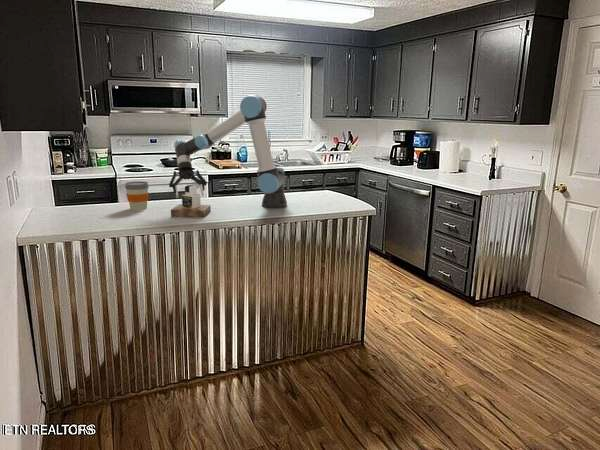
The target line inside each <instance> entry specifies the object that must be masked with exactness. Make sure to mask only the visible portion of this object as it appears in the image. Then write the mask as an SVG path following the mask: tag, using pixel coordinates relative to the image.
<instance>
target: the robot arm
mask: <svg viewBox="0 0 600 450" xmlns="http://www.w3.org/2000/svg"><path fill="white" fill-rule="evenodd" d="M267 106H268V105H267V102H266V100H265V99H264V98H263V97H262V96H259V95H255V94H250V95H247V96H245V97H243V98H242V100H241V101H240V105H239V109H240V110H239V111H238V112H236V113H234V114H233V115H231V116H230V117H228V118H227V119H226V120H223V122H221V123H220V124H218V125H217V126H215V127H214V128H213V129H210V130H209V131H208V132H206V133H205V134H199V135H196V136H195V137H194V138H192V139H189V140H188V141H185V140H177V141H176V142H175V143H174V151H175V156H176V163H177V167H178V168H177V169H178V171H176V170H174V171H173V175H172V177H171V180H170V181H169V185H168V187H169V188H172V192H173V193H175V197H176V199H179V190H178V185H179V184H180V182H182V181H183V180H191V181H193V182H195V183H197V185H199V188H200V195H201V197H202V198H203V197H204V195H205V193H204V191H205V189H206V188H205V186H207V183H208V182H207V180H206V179H205V178H204V177H203V175H201V174H200V171H199V170H195V171H194V169H193V165H192V160H191V155H193V154H195V153H197V152H199V151H202V150H208V149H210V148H211V147H212V146H213V145H215V144H216V143H217V142H219V141H221V140H222V139H224V138H225V137H227V136H229V134H231V133H233V132H235V131H236V130H237V129H239V128H241V127H242V126H244V125H245V124H246V125H248V127H249V131H250V136H251V141H252V145H253V148H254V153H255V157H256V162H257V166H258V168H257V171H256V174H257V178H258V179H257V186H258V188H259V190H260V191H261V192H262V193H264V194H263V198H262V201H261V206H262V207H264V208H271V209H279V208H285V207H287V206H288V202H287V197H286V195H285V170H284V168H283V167H278V166H276V165H275V164H274V161H273V156H272V152H271V147H270V143H269V142H270V141H269V138H268V132H267V129H266V125H265V121H266V119H267V116H266V112H267ZM177 176H179V177H178V178H177V179H176V177H177ZM175 179H176V181H175Z"/></svg>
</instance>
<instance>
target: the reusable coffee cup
mask: <svg viewBox="0 0 600 450" xmlns="http://www.w3.org/2000/svg"><path fill="white" fill-rule="evenodd" d="M124 185H125V191H126V193H125V195H126V198H127V202H128V204H129V209H130V210H131V211H135V210H138V211H143V210H144V211H145V210H147V208H148V201H149V189H150V187H149V183H148V182H147V181H138V180H137V181H127V182H126V183H125V184H124Z"/></svg>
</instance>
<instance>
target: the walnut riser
mask: <svg viewBox="0 0 600 450" xmlns="http://www.w3.org/2000/svg"><path fill="white" fill-rule="evenodd" d="M211 208H212V207H211V205H210V204H201V207H198V208H194V209H189V208H183V207H182V204H177V205H176V206H174V207H173V208H171V209H170V218H188V219H189V218H190V219H192V218H193V219H197V218H198V219H205V218H206V217H207V216H208V215H209V214H210V213H211V212H212V209H211Z"/></svg>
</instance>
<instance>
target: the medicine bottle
mask: <svg viewBox="0 0 600 450" xmlns="http://www.w3.org/2000/svg"><path fill="white" fill-rule="evenodd" d="M184 193H185V194H181V203H182V207H183V208H189V209H194V208H198V207H201V205H202V204H201V203H202V202H201V193H197V186H196V185H194V184H192V185H191V184H189V185H188V184H187V185H186V186H184Z"/></svg>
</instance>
